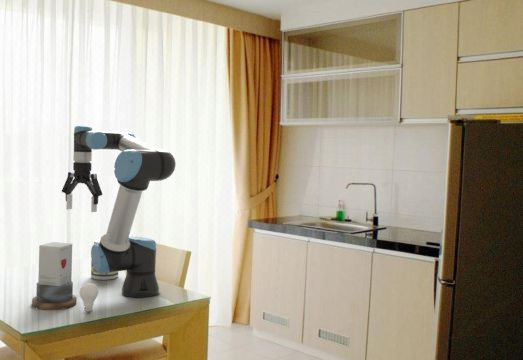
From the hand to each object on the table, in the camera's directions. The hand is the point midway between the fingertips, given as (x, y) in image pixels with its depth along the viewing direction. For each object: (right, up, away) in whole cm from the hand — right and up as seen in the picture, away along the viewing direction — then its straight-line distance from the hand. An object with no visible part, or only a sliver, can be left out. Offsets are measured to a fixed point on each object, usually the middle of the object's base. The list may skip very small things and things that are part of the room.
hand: (81, 210), depth 249 cm
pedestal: (-1, -34, -31) cm, 46 cm away
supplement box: (0, -26, -31) cm, 41 cm away
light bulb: (+15, -35, -40) cm, 55 cm away
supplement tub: (+7, -31, +13) cm, 35 cm away
